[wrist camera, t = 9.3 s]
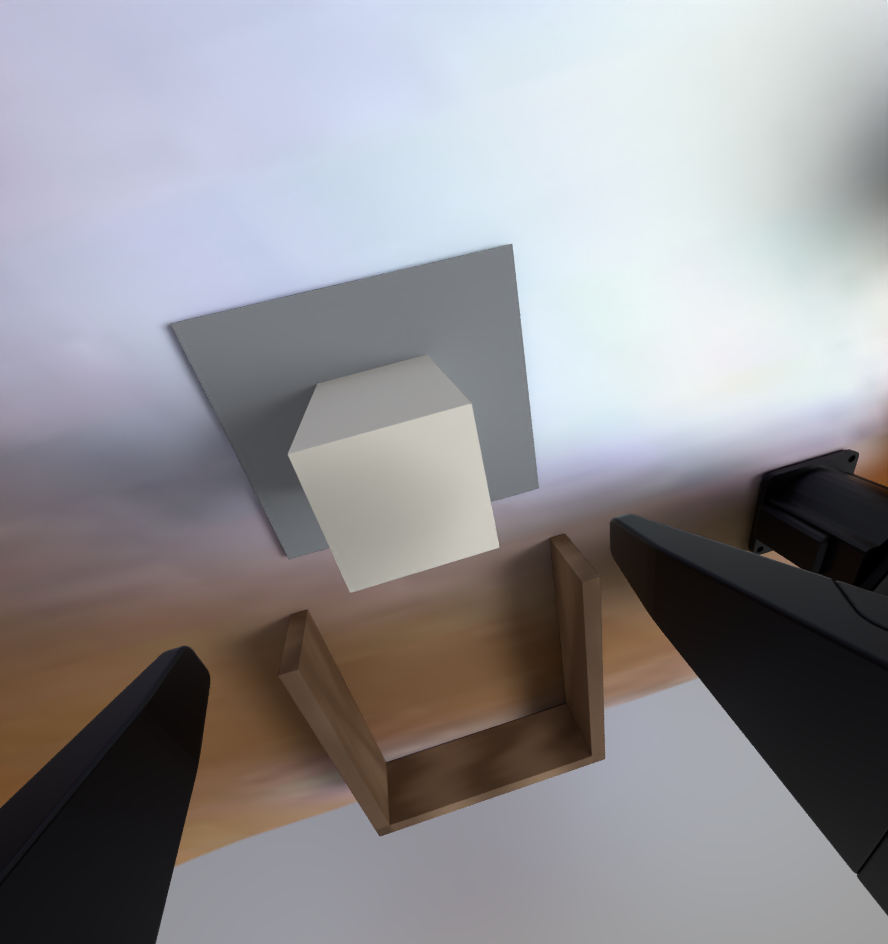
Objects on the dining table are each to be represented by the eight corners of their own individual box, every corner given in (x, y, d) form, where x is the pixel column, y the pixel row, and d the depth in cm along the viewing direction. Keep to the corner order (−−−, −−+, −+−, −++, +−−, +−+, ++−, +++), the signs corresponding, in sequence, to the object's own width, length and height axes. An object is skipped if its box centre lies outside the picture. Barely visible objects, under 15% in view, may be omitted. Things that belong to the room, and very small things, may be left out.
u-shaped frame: (565, 533, 24) (600, 576, 21) (578, 706, 32) (605, 758, 29) (290, 614, 23) (278, 675, 19) (377, 773, 31) (379, 836, 28)
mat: (509, 244, 17) (512, 243, 16) (536, 484, 22) (538, 488, 22) (174, 322, 16) (170, 323, 15) (290, 554, 21) (288, 559, 21)
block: (427, 354, 18) (471, 403, 11) (449, 453, 20) (499, 547, 13) (317, 383, 17) (287, 454, 10) (353, 480, 20) (350, 593, 13)
